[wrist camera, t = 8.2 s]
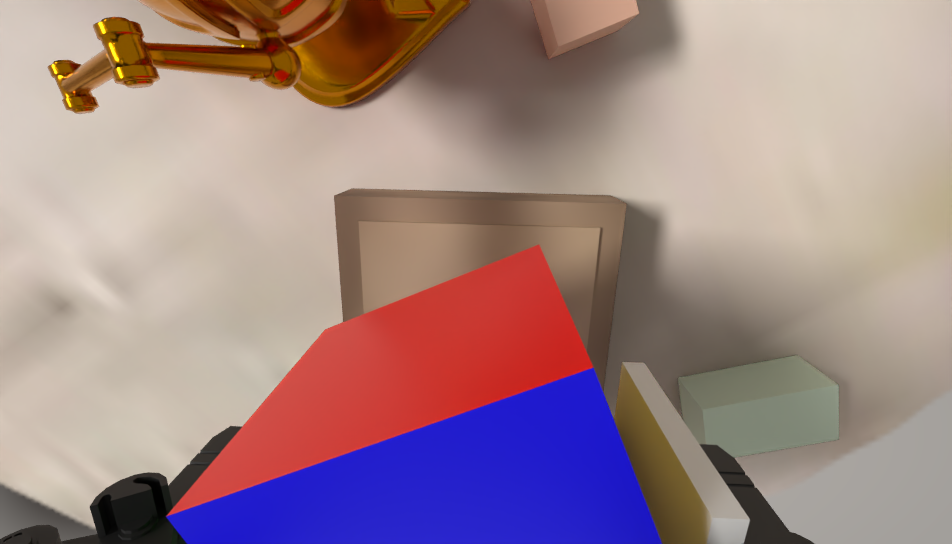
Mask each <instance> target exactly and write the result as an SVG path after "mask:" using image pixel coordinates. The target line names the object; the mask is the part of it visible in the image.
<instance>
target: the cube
mask: <svg viewBox="0 0 952 544" xmlns="http://www.w3.org/2000/svg"><path fill="white" fill-rule="evenodd" d="M166 517H167V519H168V520H169V521H170V523H171V524H172V525H173V526H174V528H175V529H176V530H177V532H178V533H179V534H180V535H181V537H182V538H183V539H184V541H185V542H186V543H187V544H662V542H661V539H660V537H659V534H658V532H657V529H656V527H655V524H654V522H653V519H652V516H651V514H650V511H649V509H648V506H647V504H646V501H645V498H644V496H643V493H642V491H641V488H640V486H639V483H638V480H637V478H636V475H635V473H634V470H633V468H632V465H631V462H630V460H629V457H628V455H627V452H626V450H625V447H624V445H623V442H622V439H621V437H620V434H619V432H618V429H617V427H616V424H615V421H614V419H613V416H612V414H611V411H610V409H609V406H608V403H607V401H606V398H605V396H604V393H603V391H602V388H601V385H600V383H599V380H598V378H597V375H596V373H595V370H594V368H593V365H592V363H591V361H590V358H589V356H588V354H587V352H586V349H585V347H584V345H583V343H582V340H581V338H580V336H579V334H578V331H577V329H576V327H575V324H574V322H573V320H572V318H571V315H570V313H569V311H568V309H567V306H566V304H565V302H564V300H563V297H562V295H561V293H560V290H559V288H558V286H557V284H556V281H555V279H554V277H553V275H552V272H551V270H550V268H549V266H548V263H547V261H546V259H545V256H544V254H543V252H542V250H541V247H540V245H536V246H534V247H531V248H529V249H526V250H524V251H521V252H519V253H516V254H514V255H511V256H509V257H506V258H504V259H501V260H499V261H496V262H494V263H491V264H489V265H486V266H484V267H481V268H478V269H476V270H473V271H471V272H468V273H466V274H463V275H461V276H458V277H456V278H453V279H451V280H448V281H446V282H443V283H441V284H438V285H436V286H433V287H431V288H428V289H426V290H423V291H421V292H418V293H416V294H413V295H411V296H408V297H406V298H403V299H401V300H398V301H396V302H393V303H390V304H388V305H385V306H383V307H380V308H378V309H375V310H373V311H370V312H368V313H365V314H363V315H360V316H358V317H355V318H353V319H350V320H348V321H345V322H343V323H340V324H338V325H335V326H333V327H330V328H328V329H325V330H324V332H323V333H322V334H321V335H320V336H319V337H318V339H317V340H316V341H315V342H314V343H313V344H312V346H311V347H310V348H309V349H308V350H307V352H306V353H305V354H304V355H303V356H302V357H301V359H300V360H299V361H298V362H297V363H296V364H295V366H294V367H293V368H292V369H291V370H290V371H289V373H288V374H287V375H286V376H285V377H284V379H283V380H282V381H281V382H280V383H279V384H278V386H277V387H276V388H275V389H274V390H273V391H272V393H271V394H270V395H269V396H268V397H267V399H266V400H265V401H264V402H263V403H262V404H261V406H260V407H259V408H258V409H257V410H256V411H255V413H254V414H253V415H252V416H251V417H250V418H249V420H248V421H247V422H246V423H245V424H244V426H243V427H242V428H241V429H240V430H239V431H238V433H237V434H236V435H235V436H234V437H233V438H232V440H231V441H230V442H229V443H228V444H227V445H226V447H225V448H224V449H223V450H222V451H221V453H220V454H219V455H218V456H217V457H216V458H215V460H214V461H213V462H212V463H211V464H210V465H209V467H208V468H207V469H206V470H205V471H204V472H203V474H202V475H201V476H200V477H199V478H198V480H197V481H196V482H195V483H194V484H193V485H192V487H191V488H190V489H189V490H188V491H187V492H186V494H185V495H184V496H183V497H182V498H181V499H180V501H179V502H178V503H177V504H176V505H175V507H174V508H173V509H172V510H171V511H170V512H169V514H168V515H167V516H166Z"/></svg>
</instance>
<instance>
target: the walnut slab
mask: <svg viewBox="0 0 952 544" xmlns="http://www.w3.org/2000/svg"><path fill="white" fill-rule="evenodd" d="M334 202H335V216H336V229H337V243H338V257H339V271H340V284H341V298H342V312H343V322H345V321H348V320H350V319H353V318H355V317H358V316H360V315H363V314H365V313H368V312H370V311H373V310H375V309H378V308H380V307H383V306H385V305H388V304H390V303H393V302H396V301H398V300H401V299H403V298H406V297H408V296H411V295H413V294H416V293H418V292H421V291H423V290H426V289H428V288H431V287H433V286H436V285H438V284H441V283H443V282H446V281H448V280H451V279H453V278H456V277H458V276H461V275H463V274H466V273H468V272H471V271H473V270H476V269H478V268H481V267H484V266H486V265H489V264H491V263H494V262H496V261H499V260H501V259H504V258H506V257H509V256H511V255H514V254H516V253H519V252H521V251H524V250H526V249H529V248H531V247H534V246H536V245H540V247H541V250H542V252H543V254H544V256H545V259H546V261H547V263H548V266H549V268H550V270H551V272H552V275H553V277H554V279H555V281H556V284H557V286H558V288H559V290H560V293H561V295H562V297H563V300H564V302H565V304H566V306H567V309H568V311H569V313H570V315H571V318H572V320H573V322H574V324H575V327H576V329H577V331H578V334H579V336H580V338H581V340H582V343H583V345H584V347H585V349H586V352H587V354H588V356H589V358H590V361H591V363H592V365H593V368H594V370H595V373H596V375H597V378H598V380H599V383H600V385H601V388H602V391H603V389H604V381H605V373H606V365H607V357H608V349H609V341H610V333H611V325H612V317H613V309H614V301H615V293H616V285H617V277H618V269H619V261H620V254H621V246H622V238H623V230H624V222H625V214H626V206H627V204H626V203H624V202H622V201H620V200H618V199H616V198H614V197H612V196H608V195H571V194H534V193H497V192H460V191H423V190H386V189H350V190H347V191H345V192H342V193H340V194H337V195H335V196H334Z"/></svg>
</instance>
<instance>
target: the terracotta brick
mask: <svg viewBox="0 0 952 544" xmlns="http://www.w3.org/2000/svg"><path fill="white" fill-rule="evenodd" d="M531 4H532V7H533V10H534V14H535V17H536V20H537V24H538V27H539V30H540V33H541V37H542V40H543V43H544V47H545V50H546V53H547V57H548V59H551V58H553V57H556V56H558V55H560V54H563V53H565V52H568V51H570V50H573V49H575V48H577V47H580V46H582V45H585V44H587V43H590V42H592V41H595V40H597V39H599V38H602V37H604V36H607V35H609V34H612V33H614V32H616V31H618V30H619V29H621V28H622V27H623V26H624V25H626V24H627V23H628V22H629V21H631V20H632V19H633V18H634V17H635V16H637V15H638V14H639V10H638V6H637V2H636V0H531Z"/></svg>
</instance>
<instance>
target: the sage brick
mask: <svg viewBox="0 0 952 544" xmlns="http://www.w3.org/2000/svg"><path fill="white" fill-rule="evenodd" d="M678 385H679V393H680V401H681V409H682V417H683V421H684V422H685V424H686V425H687V427H688V428H689V430H690V431H691V433H692V434H693V436H694V437H695V439H696V440H697V442H698V443H699V444H708V445H718V446H719V447H720V448H722V449H723V450H724V451H726V452H727V453H728V454H730V455H731V456H732V457H734V458H735V457H741V456H747V455H753V454H758V453H764V452H770V451H776V450H782V449H788V448H793V447H799V446H805V445H811V444H817V443H823V442H828V441H834V440H839V385H838V384H837V383H835V382H834V381H833V380H831V379H830V378H829V377H827V376H826V375H824V374H823V373H822V372H820V371H819V370H817V369H816V368H815V367H813V366H812V365H810V364H809V363H808V362H806V361H805V360H803V359H802V358H801V357H799V356H798V355H794V356H789V357H784V358H779V359H773V360H768V361H763V362H758V363H752V364H747V365H742V366H737V367H731V368H726V369H721V370H716V371H710V372H705V373H700V374H695V375H689V376H684V377H679V378H678Z"/></svg>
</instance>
